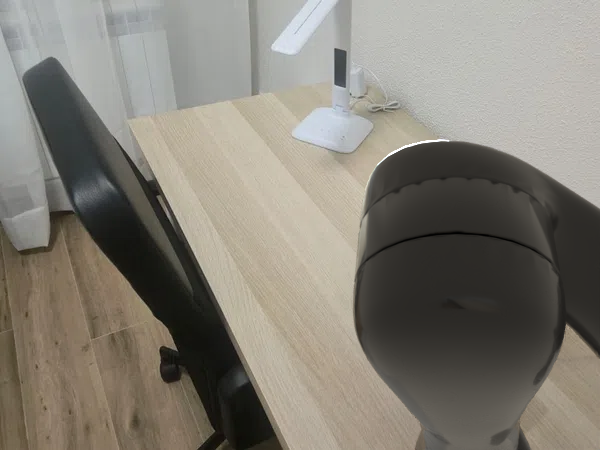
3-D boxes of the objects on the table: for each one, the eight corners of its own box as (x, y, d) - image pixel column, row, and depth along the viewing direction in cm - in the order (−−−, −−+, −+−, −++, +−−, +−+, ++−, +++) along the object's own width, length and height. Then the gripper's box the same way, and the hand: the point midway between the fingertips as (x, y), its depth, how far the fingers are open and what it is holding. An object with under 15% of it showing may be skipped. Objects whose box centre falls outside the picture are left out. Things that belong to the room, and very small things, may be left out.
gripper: (539, 311, 58) (519, 215, 71) (404, 292, 60) (407, 201, 72) (519, 353, 63) (503, 257, 75) (395, 335, 65) (399, 243, 77)
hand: (456, 230), depth 74 cm, fingers open, 8 cm apart
